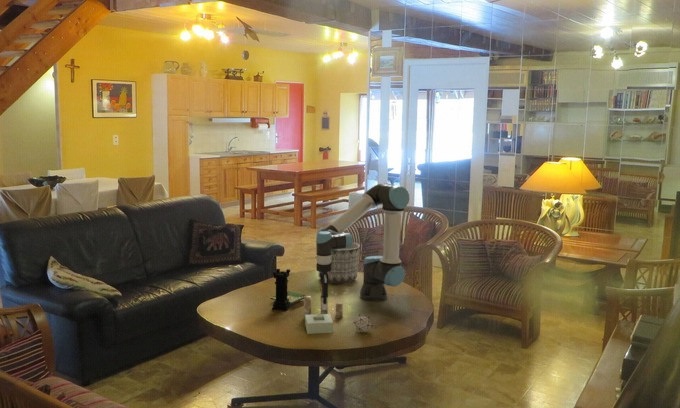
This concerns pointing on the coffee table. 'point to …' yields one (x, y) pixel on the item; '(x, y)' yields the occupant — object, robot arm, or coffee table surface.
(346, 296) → the coffee table surface
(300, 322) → the coffee table surface
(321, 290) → the pin long
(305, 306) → the pin medium
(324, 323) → the collar block
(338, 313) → the pin short
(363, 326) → the spiky lattice ball
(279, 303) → the chess piece
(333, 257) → the planter
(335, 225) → the robot arm
